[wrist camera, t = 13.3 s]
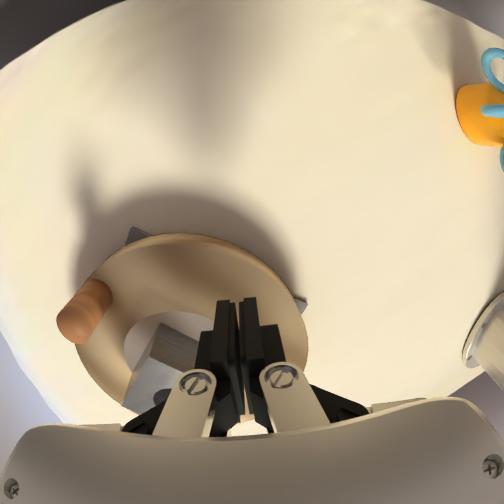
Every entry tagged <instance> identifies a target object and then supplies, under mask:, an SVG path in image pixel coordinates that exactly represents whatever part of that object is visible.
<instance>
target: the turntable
mask: <svg viewBox="0 0 504 504" xmlns="http://www.w3.org/2000/svg"><path fill="white" fill-rule="evenodd" d="M248 297H256V301H257V308H258V316H259V323H260V326H263V325H271V324H278V328H279V332H280V336H281V340H282V345H283V349H284V353H285V358H286V362H289V363H292V364H295V365H297V366H298V367H300V369H301V370H302V371H303V372H304V369H305V366H306V362H307V356H308V337H307V332H306V327H305V324H304V322H303V319H302V317H301V314H300V312H299V310H298V308H297V305H296V303H295V301H294V299H293V297H292V295H291V293H290V292H289V290H288V288H287V287H286V285H285V283H284V282H283V281H282V280H281V279H280V278H279V276H278V275H277V274H276V273H275V272H274V271H273V270H272V269H271V268H270V267H269V266H268V265H266V264H265V263H264V262H263V261H262V260H260V259H259V258H257V257H256V256H254V255H253V254H251V253H250V252H248V251H246V250H244V249H242V248H240V247H238V246H236V245H234V244H231V243H228V242H226V241H223V240H220V239H217V238H213V237H208V236H203V235H198V234H186V233H173V234H161V235H156V236H150V237H146V238H143V239H140V240H138V241H135V242H132V243H130V244H128V245H126V246H125V247H123V248H121V249H119V250H118V251H116V252H115V253H114V254H112V255H111V256H110V257H109V258H107V259H106V260H105V261H104V262H103V263H102V264H101V265H100V266H99V267H98V268H97V269H96V270H95V271H94V272H93V274H92V275H91V276H90V277H89V278H88V279H87V280H86V282H85V283H84V285H83V286H82V288H81V289H80V290H79V291H78V292H77V293H76V294H75V296H74V297H73V298H72V299H71V300H70V301H69V302H68V303H67V305H66V306H65V307H64V308H63V309H62V310H61V311H60V313H59V314H58V315H57V319H56V321H57V326H58V328H59V330H60V332H61V333H62V335H63V336H64V337H65V338H67V339H68V340H69V341H71V342H73V343H75V346H76V349H77V352H78V355H79V357H80V359H81V361H82V363H83V365H84V367H85V368H86V370H87V371H88V373H89V374H90V376H91V377H92V378H93V380H94V381H95V382H96V383H97V384H98V385H99V386H100V387H101V389H102V390H103V391H104V392H106V393H107V394H108V395H109V396H110V397H111V398H113V399H114V400H115V401H117V402H118V403H119V404H121V405H122V402H123V399H124V395H125V392H126V389H127V386H128V383H129V380H130V377H131V375H132V372H133V370H134V368H135V367H136V365H137V363H138V361H139V359H140V357H141V356H142V354H143V352H144V350H145V348H146V346H147V345H148V343H149V341H150V339H151V338H152V336H153V334H154V332H155V330H156V329H157V327H158V325H159V323H160V322H161V323H163V324H165V325H167V326H169V327H171V328H173V329H175V330H177V331H179V332H181V333H183V334H185V335H187V336H189V337H191V338H193V339H195V340H197V341H199V339H200V334H201V331H210V330H213V326H214V319H215V311H216V303H217V301H218V300H228V299H230V303H232V302H235V305H236V312H237V319H238V325H239V302H241V301H244V300H243V298H248ZM244 393H245V387H244ZM129 410H130V409H129ZM131 411H132V410H131ZM132 412H134V411H132ZM134 413H136V412H134ZM136 414H138V415H141V414H139V413H136ZM253 419H255V417H254V414H249V409H248V403H247V398H246V393H245V415H240V422H241V423H244V422H247V421H250V420H253ZM241 423H237V424H241ZM237 424H236V425H237Z"/></svg>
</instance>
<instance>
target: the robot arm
mask: <svg viewBox="0 0 504 504" xmlns="http://www.w3.org/2000/svg"><path fill="white" fill-rule="evenodd" d="M243 300H244V301H241V302H239V325H238V319H237V312H236V305H235V302H232V303H230V299H228V300H218V301H217V303H216V311H215V319H214V326H213V330H210V331H201V334H200V339H199V344H198V349H197V355H196V361H195V366H194V370H190V371H187V372H185V373H183V374H181V375H180V376H179V377H178V378H177V380H176V381H175V383H174V386H173V388H172V390H171V392H170V395H169V397H168V398H167V399H166V400H164V401H163V402H161V403H159V404H158V405H156V406H154V407H153V408H151V409H149V410H148V411H146V412H144V413H143V414H141V415H139V416H137V417H136V418H134V419H132V420H131V421H129V422H128V423H127V424H126V425H125V426H122V425H121V424H120V423H119V424H99V425H73V424H56V423H52V424H43V425H38V426H35V427H32V428H31V429H29V430H28V431H27V432H25V434H24V435H23V436H22V437H21V438H20V440H19V441H18V443H17V444H16V446H15V448H14V450H13V451H12V453H11V455H10V457H9V459H8V461H7V464H6V465H5V467H4V470H3V472H2V474H1V477H0V504H504V440H503V439H502V437H501V436H500V434H499V433H498V431H497V430H496V429H495V427H494V426H493V425H492V423H491V422H490V421H489V419H488V418H487V417H486V416H485V415H484V414H483V413H482V412H481V411H480V409H478V408H477V407H476V406H475V405H474V404H472V403H471V402H469V401H468V400H465V399H462V398H457V397H439V398H430V399H426V398H415V399H409V400H403V401H396V402H388V403H379V404H372V405H371V407H366V408H365V407H364V406H362V405H361V404H359V403H356V402H354V401H351V400H348V399H346V398H343V397H340V396H338V395H335V394H333V393H330V392H328V391H326V390H323V389H321V388H318V387H316V386H314V385H311V384H309V382H308V381H307V379H306V377H305V375H304V373H303V371H302V370H301V369H300V367H298V366H297V365H295V364H292V363H289V362H286V358H285V353H284V349H283V345H282V340H281V336H280V332H279V328H278V324H271V325H263V326H260V323H259V316H258V308H257V301H256V297H248V298H243ZM462 360H463V363H464V364H465V365H466V366H467V367H468V368H474V367H477V366H479V365H480V366H481V367H482V368H483V369H484V370H485V371H486V372H487V373H488V374H489V375H490V376H491V377H492V379H493V380H494V381H495V382H496V383H497V384H498V385H499V386H500V387H501V388H502V390H503V391H504V292H503V293H501V294H500V295H498V296H497V297H496V298H495V299H494V300H493V301H492V302H491V303H490V304H489V305H488V307H487V308H486V309H485V311H484V312H483V313H482V315H481V316H480V318H479V319H478V321H477V322H476V324H475V326H474V327H473V329H472V331H471V333H470V335H469V337H468V339H467V342H466V344H465V347H464V350H463V356H462ZM244 387H245V393H246V398H247V403H248V409H249V414H254V417H255V422H257V423H259V424H260V425H262V426H264V427H265V428H266V433H267V434H260V435H249V436H233V437H231V428H232V427H233V426H234V425H236V424H237V423H241V422H240V415H245V393H244Z"/></svg>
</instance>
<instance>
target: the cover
mask: <svg viewBox="0 0 504 504" xmlns="http://www.w3.org/2000/svg"><path fill="white" fill-rule="evenodd" d="M198 344H199V341H197V340H195V339H193V338H191V337H189V336H187V335H185V334H183V333H181V332H179V331H177V330H175V329H173V328H171V327H169V326H167V325H165V324H163V323H161V322H160V323H159V325H158V327H157V329H156V330H155V332H154V334H153V336H152V338H151V339H150V341H149V343H148V345H147V346H146V348H145V350H144V352H143V354H142V356H141V357H140V359H139V361H138V363H137V365H136V367H135V368H134V370H133V372H132V375H131V377H130V380H129V383H128V386H127V389H126V392H125V395H124V399H123V402H122V405H121V406H123V407H125V408H127V409H130V410H132V411H134V412H136V413H139V414H143V413H144V412H146V411H148V410H149V409H151V408H153V407H154V406H156V405H158V404H159V403H161V402H163V401H164V400H166V399H167V398H168V397H169V395H170V392H171V390H172V388H173V386H174V383H175V381H176V380H177V378H178V377H179V376H180V375H181V374H183V373H185V372H187V371H190V370H194V366H195V361H196V355H197V349H198Z"/></svg>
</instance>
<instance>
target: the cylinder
mask: <svg viewBox="0 0 504 504" xmlns="http://www.w3.org/2000/svg"><path fill="white" fill-rule="evenodd" d="M495 57H499V58H502V59H504V50H502V49H499V48H489V49H487V50H486V51H485V52H484V53H483V55H482V59H481V63H482V68H483V71H484V73H485V75H486V77H487V78H488V80H489V81H490V82H488V83H478V84H470V85H465V86H463V87H461V88H460V89H459V91H458V93H457V97H456V110H457V116H458V120H459V122H460V125H461V128H462V130H463V132H464V133H465V135H466V136H467V138H468V139H469V140H470V141H471V142H473V143H475V144H477V145H483V146H492V147H500V148H501V151H500V164H501V167H502V170H503V172H504V85H503V84H502V83H500V82H499V81H498V80H497V79H496V78H495V76H494V75H493V73H492V71H491V68H490V61H491V59H492V58H495Z"/></svg>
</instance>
